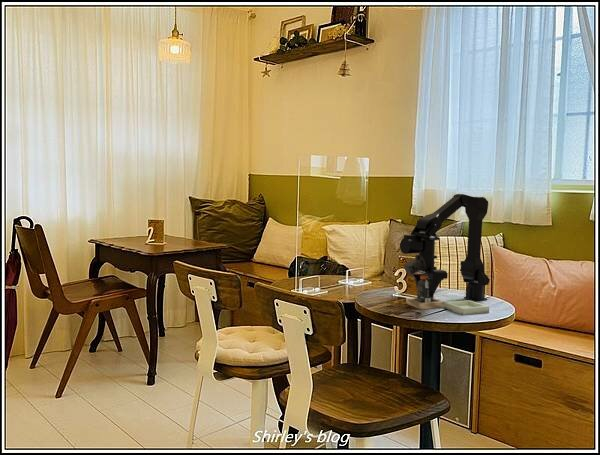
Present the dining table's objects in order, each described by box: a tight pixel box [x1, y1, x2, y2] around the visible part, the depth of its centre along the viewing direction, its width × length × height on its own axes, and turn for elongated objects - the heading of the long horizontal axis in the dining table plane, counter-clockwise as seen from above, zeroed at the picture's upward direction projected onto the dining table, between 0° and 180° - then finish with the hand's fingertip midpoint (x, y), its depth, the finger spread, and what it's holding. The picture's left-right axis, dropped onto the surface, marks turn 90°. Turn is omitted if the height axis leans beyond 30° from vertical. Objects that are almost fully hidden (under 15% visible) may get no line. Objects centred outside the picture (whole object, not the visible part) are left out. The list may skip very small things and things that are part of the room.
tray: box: [443, 299, 490, 316], centre depth 206 cm, size 11×11×2 cm
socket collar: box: [405, 297, 445, 310], centre depth 213 cm, size 10×10×2 cm
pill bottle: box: [416, 274, 435, 303], centre depth 213 cm, size 6×6×11 cm
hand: (425, 294), depth 213 cm, fingers open, 7 cm apart
